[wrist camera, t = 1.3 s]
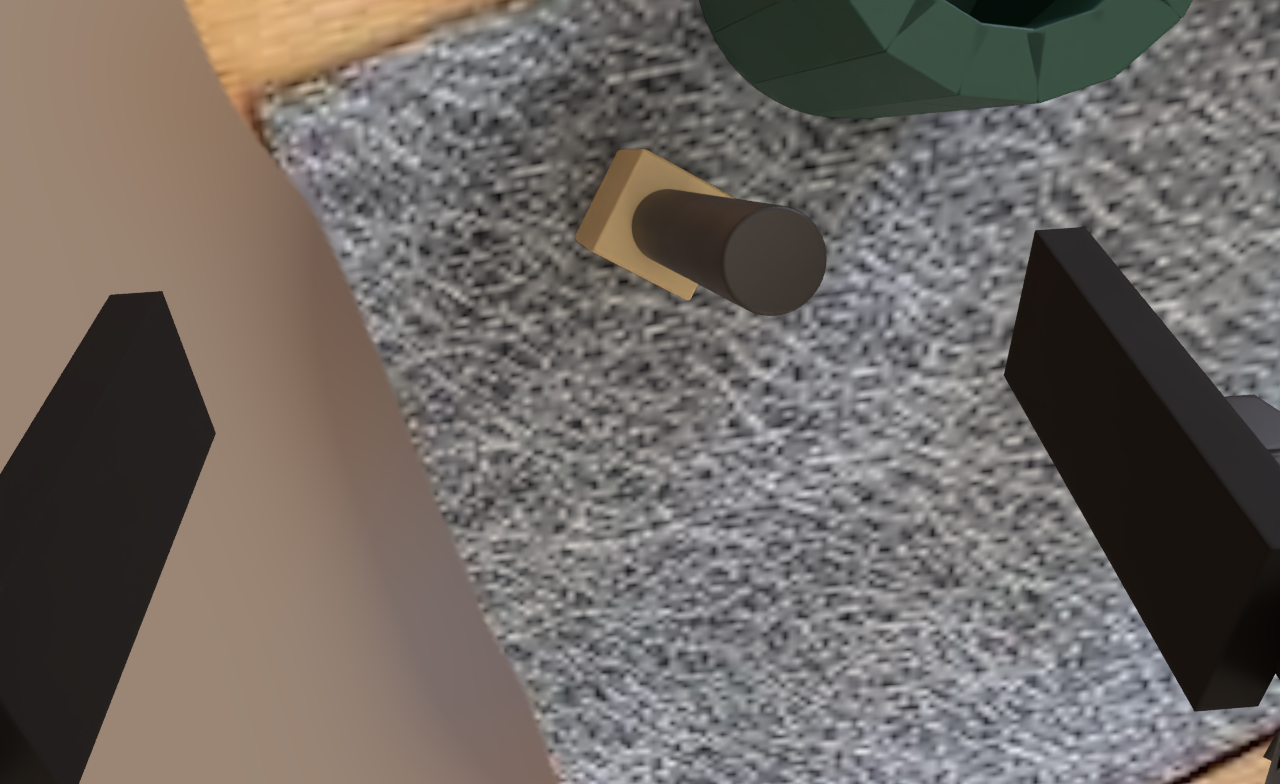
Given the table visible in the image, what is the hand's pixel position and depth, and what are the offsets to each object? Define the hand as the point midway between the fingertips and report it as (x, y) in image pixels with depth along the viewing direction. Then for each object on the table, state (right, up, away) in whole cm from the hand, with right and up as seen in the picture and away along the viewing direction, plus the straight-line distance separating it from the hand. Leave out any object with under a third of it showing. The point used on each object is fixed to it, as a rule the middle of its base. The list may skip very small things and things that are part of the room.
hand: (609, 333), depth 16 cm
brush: (0, +5, +20) cm, 21 cm away
